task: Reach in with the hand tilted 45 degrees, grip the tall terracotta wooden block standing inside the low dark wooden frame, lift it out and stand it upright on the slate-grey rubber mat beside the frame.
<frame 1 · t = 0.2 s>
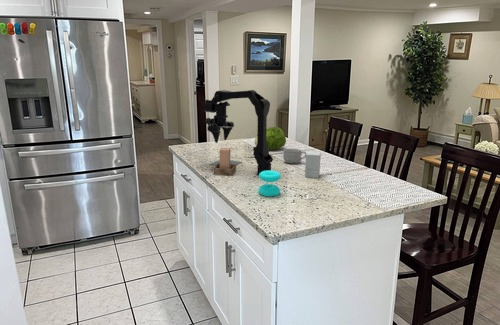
hand: (220, 141, 210), 15 cm above the countertop, tool pointing down, fingers open, 9 cm apart
teacup: (294, 163, 225), on the countertop
terracotta block: (225, 160, 202), in the wooden frame
lettuce: (269, 149, 257), on the countertop
supplement box: (312, 176, 200), on the countertop
wooden frame: (225, 172, 204), on the countertop
rubber mat: (225, 163, 221), on the countertop
donuts: (269, 193, 174), on the countertop
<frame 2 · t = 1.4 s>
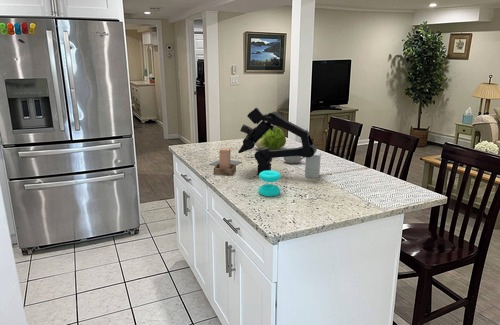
hand: (239, 150, 200), 12 cm above the countertop, tool tilted 45°, fingers open, 9 cm apart
nothing on the countertop moved.
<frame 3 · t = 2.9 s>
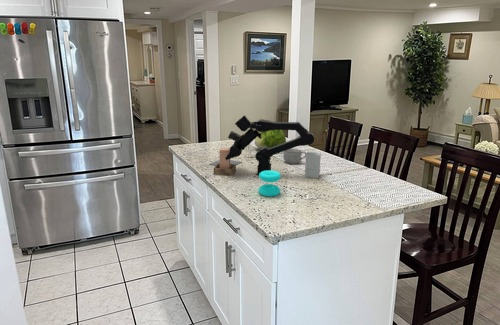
hand: (227, 157, 201), 9 cm above the countertop, tool tilted 45°, fingers open, 9 cm apart
nothing on the countertop moved.
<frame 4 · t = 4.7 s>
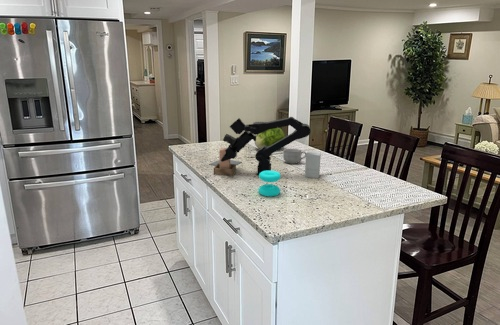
hand: (222, 159, 202), 7 cm above the countertop, tool tilted 45°, fingers closed on terracotta block, 5 cm apart
terracotta block: (225, 160, 202), in the wooden frame, touching gripper
everything else where it was.
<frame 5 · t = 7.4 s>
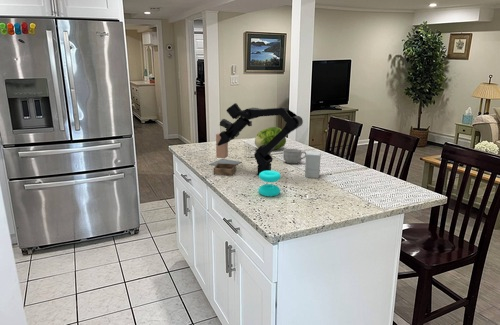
hand: (219, 144, 207), 14 cm above the countertop, tool tilted 45°, fingers closed on terracotta block, 5 cm apart
terracotta block: (222, 145, 207), point 14 cm above the countertop, touching gripper
everything else where it was.
when the fingers open (8 cm above the countertop, at t = 10.2 s): terracotta block stays where it is, resting on rubber mat.
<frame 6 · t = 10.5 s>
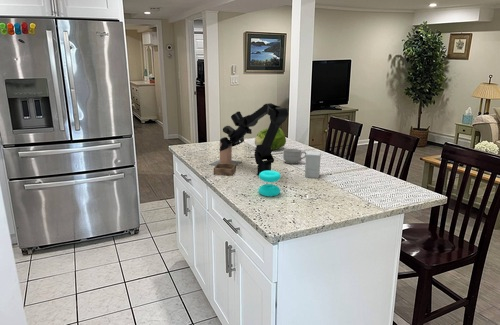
hand: (223, 149, 219), 9 cm above the countertop, tool tilted 45°, fingers open, 8 cm apart
terracotta block: (225, 152, 219), on the rubber mat
everything else where it was.
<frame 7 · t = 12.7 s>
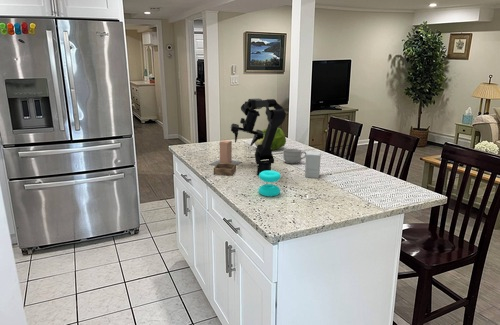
hand: (243, 144, 216), 12 cm above the countertop, tool tilted 20°, fingers open, 9 cm apart
nothing on the countertop moved.
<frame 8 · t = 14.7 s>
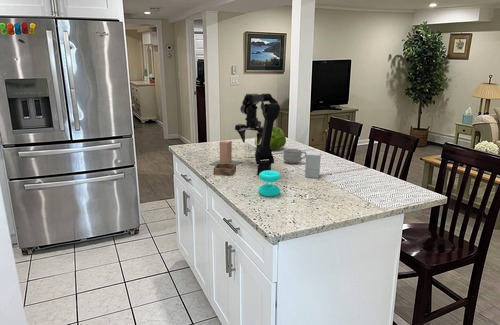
hand: (251, 143, 215), 13 cm above the countertop, tool pointing down, fingers open, 9 cm apart
nothing on the countertop moved.
at the end: terracotta block inside the target area on the rubber mat (0.1 cm from its centre), point 6.9 cm above the rubber mat's base; terracotta block tilted 0°; the gripper is holding nothing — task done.
